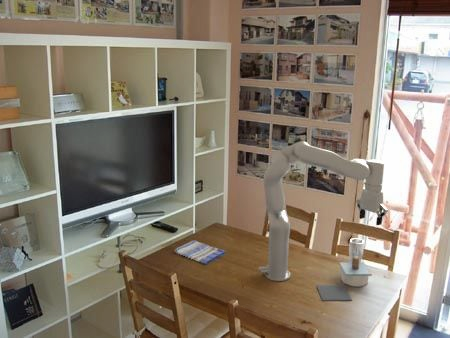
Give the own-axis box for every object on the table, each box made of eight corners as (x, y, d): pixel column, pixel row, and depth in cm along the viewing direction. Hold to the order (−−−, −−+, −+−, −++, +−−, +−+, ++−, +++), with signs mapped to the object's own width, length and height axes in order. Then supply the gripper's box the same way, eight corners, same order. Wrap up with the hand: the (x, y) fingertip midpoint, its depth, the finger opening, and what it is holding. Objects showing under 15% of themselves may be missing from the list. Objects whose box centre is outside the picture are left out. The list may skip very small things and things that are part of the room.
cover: (345, 275, 215) (346, 264, 214) (339, 263, 227) (340, 252, 225) (371, 275, 215) (372, 263, 214) (363, 263, 227) (364, 252, 225)
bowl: (345, 287, 217) (346, 275, 215) (338, 275, 228) (339, 264, 226) (369, 287, 217) (371, 275, 215) (362, 275, 228) (363, 264, 227)
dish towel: (194, 243, 265) (194, 238, 264) (226, 254, 251) (226, 250, 250) (172, 253, 252) (172, 248, 251) (205, 266, 238) (205, 261, 237)
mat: (322, 300, 205) (322, 299, 205) (316, 285, 218) (316, 285, 218) (351, 300, 206) (351, 299, 205) (344, 285, 218) (344, 285, 218)
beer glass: (362, 272, 231) (364, 244, 227) (347, 270, 233) (350, 243, 229) (361, 265, 238) (363, 238, 234) (347, 264, 239) (349, 237, 235)
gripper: (353, 183, 220) (350, 217, 224) (383, 193, 206) (380, 229, 210) (363, 181, 224) (360, 214, 228) (394, 190, 210) (390, 225, 214)
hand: (370, 221), depth 219 cm, fingers open, 9 cm apart
